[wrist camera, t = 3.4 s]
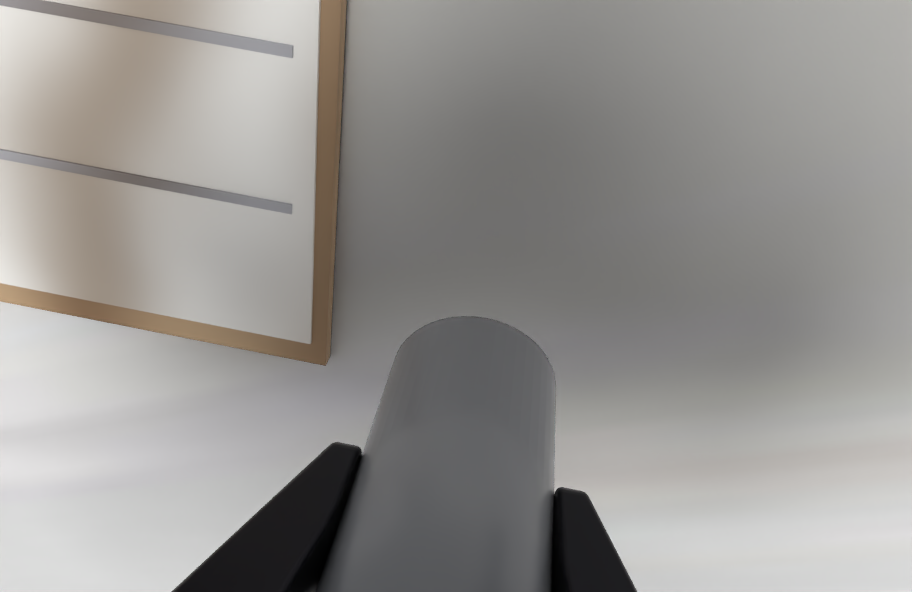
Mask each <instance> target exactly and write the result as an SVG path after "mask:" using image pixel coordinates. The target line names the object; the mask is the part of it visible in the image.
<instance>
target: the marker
mask: <svg viewBox="0 0 912 592" xmlns="http://www.w3.org/2000/svg"><path fill="white" fill-rule="evenodd" d="M555 405H556V381H555V375H554V371H553V368H552V366H551V364H550V362H549V360H548V358H547V356H546V355H545V353H544V352H543V351H542V349H541V348H540V347H539V346H538V345H537V344H536V343H535V342H534V341H533V340H532V339H530V338H529V337H528V336H527V335H525V334H524V333H522V332H520V331H519V330H517V329H515V328H513V327H511V326H509V325H507V324H504V323H501V322H499V321H495V320H491V319H487V318H481V317H469V316H461V317H451V318H446V319H441V320H438V321H435V322H432V323H430V324H428V325H426V326H423V327H422V328H420V329H419V330H417V331H416V332H414V333H413V334H412V335H411V336H410V337H408V338H407V339H406V341H405V342H404V343H403V344H402V345H401V347H400V349H399V351H398V352H397V355H396V357H395V360H394V363H393V365H392V368H391V371H390V374H389V377H388V380H387V383H386V386H385V389H384V392H383V395H382V398H381V401H380V404H379V406H378V409H377V412H376V415H375V418H374V421H373V424H372V427H371V430H370V433H369V436H368V439H367V442H366V445H365V447H364V450H363V453H362V457H361V460H360V463H359V466H358V469H357V472H356V475H355V478H354V480H353V483H352V486H351V489H350V492H349V495H348V498H347V501H346V504H345V507H344V510H343V513H342V516H341V519H340V522H339V524H338V527H337V530H336V533H335V536H334V539H333V542H332V545H331V547H330V550H329V553H328V556H327V559H326V562H325V565H324V568H323V570H322V573H321V576H320V579H319V582H318V585H317V588H316V591H315V592H552V567H553V513H554V459H555Z"/></svg>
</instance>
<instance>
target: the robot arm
mask: <svg viewBox="0 0 912 592" xmlns="http://www.w3.org/2000/svg"><path fill="white" fill-rule="evenodd" d="M361 457H362V451H361V449H360V448H359V447H358V446H355V445H350V444H345V443H340V442H335V443H332V444H331V445H330V446H328V447H327V448H326V449H325V450H324V451H323V452H322V453H321V454H320V455H319V456H318V457H316V458H315V459H314V460H313V461H312V462H311V463H310V464H309V465H308V466H307V467H306V468H305V469H304V470H302V471H301V472H300V473H299V474H298V475H297V476H296V477H295V478H294V479H293V480H292V481H291V482H289V483H288V484H287V485H286V486H285V487H284V488H283V489H282V490H281V491H280V492H279V493H278V494H277V495H275V496H274V497H273V498H272V499H271V500H270V501H269V502H268V503H267V504H266V505H265V506H264V507H263V508H261V509H260V510H259V511H258V512H257V513H256V514H255V515H254V516H253V517H252V518H251V519H250V520H248V521H247V522H246V523H245V524H244V525H243V526H242V527H241V528H240V529H239V530H238V531H237V532H236V533H234V534H233V535H232V536H231V537H230V538H229V539H228V540H227V541H226V542H225V543H224V544H223V545H221V546H220V547H219V548H218V549H217V550H216V551H215V552H214V553H213V554H212V555H211V556H210V557H209V558H207V559H206V560H205V561H204V562H203V563H202V564H201V565H200V566H199V567H198V568H197V569H196V570H194V571H193V572H192V573H191V574H190V575H189V576H188V577H187V578H186V579H185V580H184V581H183V582H182V583H180V584H179V585H178V586H177V587H176V588H175V589H174V590H173V591H172V592H315V591H316V588H317V585H318V582H319V579H320V576H321V573H322V570H323V568H324V565H325V562H326V559H327V556H328V553H329V550H330V547H331V545H332V542H333V539H334V536H335V533H336V530H337V527H338V524H339V522H340V519H341V516H342V513H343V510H344V507H345V504H346V501H347V498H348V495H349V492H350V489H351V486H352V483H353V480H354V478H355V475H356V472H357V469H358V466H359V463H360V460H361ZM552 592H637V590H636V588H635V586H634V584H633V582H632V580H631V579H630V577H629V575H628V573H627V571H626V569H625V567H624V565H623V563H622V561H621V559H620V557H619V555H618V553H617V551H616V549H615V547H614V545H613V543H612V541H611V539H610V537H609V536H608V534H607V532H606V530H605V528H604V526H603V524H602V522H601V520H600V518H599V516H598V514H597V512H596V510H595V508H594V506H593V504H592V502H591V500H590V498H589V497H588V495H587V494H586V493H585V492H583V491H578V490H573V489H569V488H564V487H560V488H558V489H557V490H556V491H555V494H554V513H553V567H552Z"/></svg>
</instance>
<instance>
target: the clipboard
mask: <svg viewBox="0 0 912 592" xmlns="http://www.w3.org/2000/svg"><path fill="white" fill-rule="evenodd" d="M346 5H347V0H0V301H2V302H7V303H12V304H17V305H22V306H27V307H32V308H37V309H42V310H47V311H52V312H57V313H62V314H67V315H72V316H78V317H83V318H88V319H93V320H98V321H103V322H108V323H113V324H118V325H123V326H128V327H133V328H138V329H143V330H148V331H153V332H158V333H163V334H168V335H173V336H178V337H183V338H189V339H194V340H199V341H204V342H209V343H214V344H219V345H224V346H229V347H234V348H239V349H244V350H249V351H254V352H259V353H264V354H269V355H274V356H279V357H284V358H289V359H294V360H300V361H305V362H310V363H315V364H320V365H325V366H326V364H327V362H328V360H329V358H330V347H331V326H332V304H333V283H334V262H335V240H336V219H337V197H338V176H339V154H340V133H341V112H342V90H343V69H344V47H345V26H346Z"/></svg>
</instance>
